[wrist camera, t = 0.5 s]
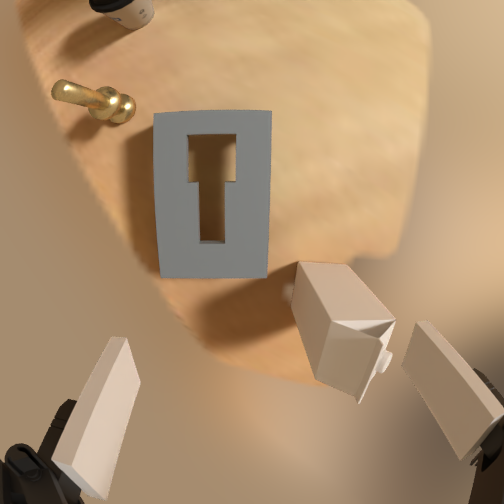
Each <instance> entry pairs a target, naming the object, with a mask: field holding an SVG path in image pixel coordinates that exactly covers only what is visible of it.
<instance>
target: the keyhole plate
mask: <svg viewBox="0 0 504 504" xmlns="http://www.w3.org/2000/svg"><path fill="white" fill-rule="evenodd" d="M271 130H272V111H265V110H199V111H179V112H165V113H154V123H153V165H154V197H155V216H156V231H157V244H158V256H159V266H160V276H161V278H267V267H268V240H269V210H270V175H271ZM225 134H236V181H225V241H200V220H199V182H189V180H188V135H225Z"/></svg>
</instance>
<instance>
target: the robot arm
mask: <svg viewBox="0 0 504 504" xmlns="http://www.w3.org/2000/svg"><path fill="white" fill-rule="evenodd" d="M402 367H403V369H404V370H405V372H406V373H407V375H408V376H409V378H410V379H411V381H412V382H413V384H414V386H415V387H416V389H417V390H418V392H419V393H420V395H421V396H422V398H423V400H424V401H425V403H426V404H427V406H428V407H429V409H430V411H431V412H432V414H433V416H434V417H435V419H436V421H437V422H438V424H439V426H440V427H441V429H442V431H443V432H444V434H445V436H446V437H447V439H448V441H449V443H450V444H451V446H452V447H453V449H454V451H455V453H456V455H457V457H458V458H459V460H460V461H461V460H462V459H464V458H466V457H468V456H470V455H472V454H473V453H474V452H475V451H476V449H477V448H478V447H479V446H481V448H482V450H481V451H480V452H479V453H478V455H477V456H476V457H475V458H474V459H473V460H472V461H471V464H470V465H473V464H474V463H475V461H476V460H477V459H478V462H477V463H476V464H475V466H477V468H476V474H475V478H474V483H473V487H472V491H471V495H470V499H469V503H468V504H504V398H503V397H502V396H501V394H500V393H499V392H498V391H497V389H494V386H493V385H492V384H491V383H490V382H489V380H488V379H487V378H486V377H485V375H484V374H483V373H481V372H480V371H478V370H477V369H475V368H474V369H472V368H471V367H470V366H469V365H468V364H467V363H466V361H465V360H464V359H463V358H462V357H461V356H460V355H459V353H458V352H457V351H456V350H455V349H454V348H453V347H452V346H451V345H450V344H449V342H447V340H446V339H445V338H444V337H443V336H442V335H441V334H440V333H439V332H438V330H437V329H436V328H435V327H434V326H433V325H432V324H431V323H430V322H429V321H428V320H426V321H420V322H416V324H415V327H414V330H413V333H412V337H411V340H410V343H409V346H408V349H407V352H406V354H405V357H404V360H403V363H402ZM139 386H140V379H139V376H138V373H137V370H136V367H135V364H134V361H133V357H132V354H131V350H130V347H129V344H128V340H127V338H124V337H123V338H122V337H111V338H110V340H109V342H108V344H107V345H106V347H105V349H104V351H103V353H102V354H101V356H100V358H99V360H98V362H97V364H96V366H95V368H94V370H93V371H92V373H91V375H90V377H89V379H88V381H87V383H86V385H85V387H84V389H83V391H82V393H81V395H80V397H79V399H78V401H75V400H71V399H68V400H67V401H66V402H64V403H63V404H62V405H61V406H60V407H59V409H58V411H57V413H56V415H55V419H53V421H52V423H51V427H49V429H48V431H47V433H46V435H45V437H44V439H43V442H42V444H41V446H40V448H39V450H38V452H37V453H36V452H35V451H34V450H33V449H32V448H31V447H30V446H28V445H26V444H22V443H21V444H15V445H14V446H12V447H10V448H9V449H8V451H7V453H6V455H5V463H3V462H2V461H1V460H0V504H84V502H83V500H82V498H81V497H80V492H81V490H82V491H83V492H85V493H86V494H87V495H88V496H91V497H94V498H98V499H101V500H105V501H106V500H107V497H108V493H109V488H110V484H111V481H112V477H113V473H114V469H115V466H116V462H117V458H118V455H119V451H120V447H121V444H122V440H123V437H124V434H125V431H126V427H127V424H128V421H129V417H130V414H131V411H132V408H133V404H134V402H135V398H136V395H137V392H138V389H139Z"/></svg>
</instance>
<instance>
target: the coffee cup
mask: <svg viewBox="0 0 504 504" xmlns="http://www.w3.org/2000/svg"><path fill="white" fill-rule="evenodd" d="M89 4H90V6H91V8H92V9H93V10H94V11H96V12H100V13H103V14H105V15H106V16H108V17H110V18H111V19H113V20H114V21H116V22H118V23H119V24H121V25H122V26H124V27H126V28H127V29H131V30H135V29H139V28H142V27H144V26H146V25H147V24H148V23H149V22H150V21H151V20H152V18H153V16H154V8H153V4H152V1H151V0H89Z"/></svg>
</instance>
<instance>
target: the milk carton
mask: <svg viewBox="0 0 504 504" xmlns="http://www.w3.org/2000/svg"><path fill="white" fill-rule="evenodd" d="M291 310H292V313H293V315H294V318H295V321H296V324H297V327H298V330H299V333H300V336H301V339H302V342H303V345H304V347H305V350H306V353H307V356H308V359H309V362H310V365H311V368H312V371H313V374H314V377H315V379H316V380H318V381H320V382H322V383H324V384H327V385H329V386H331V387H333V388H336V389H338V390H340V391H343V392H345V393H347V394H350V395H352V396H354V397H355V399H356V401H357V403H358V404H359V403H360V402H361V400H362V398H363V396H364V394H365V391H366V389H367V387H368V385H369V382H370V380H371V379H372V378H373V376H374V375H375V373H376V371H378V372H380V373H383V372H384V370H385V369H386V368H387V366H388V365H389V363H390V361H391V358H392V353H391V352H388V351H386V350H385V349H386V346H387V344H388V341H389V339H390V335H391V333H392V330H393V328H394V325H395V321H396V319H395V318H394V317H393V315H392V314H391V313H390V312H389V311H388V310H387V309H386V307H385V306H384V305H383V304H382V303H381V302H380V300H379V299H378V298H377V297H376V296H375V295H374V294H373V293H372V292H371V290H370V289H369V288H368V287H367V286H366V285H365V284H364V283H363V282H362V280H361V279H360V278H359V277H358V276H357V275H356V274H355V273H354V272H353V271H352V270H351V269H350V267H349V266H348V265H347V264H333V263H317V262H302V261H299V262H298V265H297V271H296V277H295V283H294V289H293V295H292V301H291Z"/></svg>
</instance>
